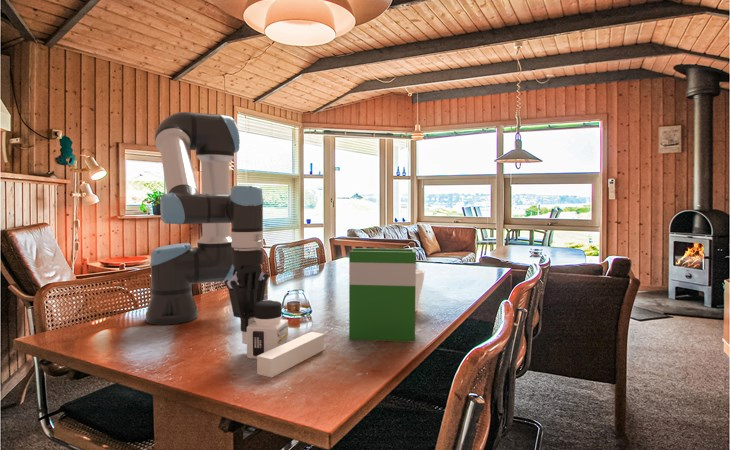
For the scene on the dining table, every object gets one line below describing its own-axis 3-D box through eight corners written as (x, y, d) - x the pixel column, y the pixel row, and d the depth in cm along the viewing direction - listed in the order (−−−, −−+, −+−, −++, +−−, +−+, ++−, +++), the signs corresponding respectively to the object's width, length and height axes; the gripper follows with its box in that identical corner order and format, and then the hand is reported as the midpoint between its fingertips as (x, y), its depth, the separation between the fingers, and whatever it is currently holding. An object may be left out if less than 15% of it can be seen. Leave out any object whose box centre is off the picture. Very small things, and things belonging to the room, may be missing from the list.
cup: (423, 307, 157) (423, 269, 156) (424, 314, 146) (424, 274, 145) (393, 306, 158) (393, 268, 157) (392, 313, 147) (392, 273, 146)
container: (277, 360, 104) (276, 305, 104) (246, 358, 106) (245, 304, 105) (288, 349, 112) (288, 298, 111) (259, 347, 113) (259, 297, 113)
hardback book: (349, 339, 120) (349, 251, 119) (352, 331, 128) (352, 248, 126) (414, 341, 119) (415, 252, 117) (414, 333, 126) (415, 249, 125)
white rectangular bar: (257, 374, 96) (257, 355, 96) (311, 347, 114) (311, 331, 114) (271, 377, 95) (271, 359, 94) (324, 349, 112) (324, 334, 112)
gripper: (239, 252, 102) (240, 353, 103) (276, 247, 113) (277, 338, 114) (215, 250, 105) (217, 348, 107) (254, 245, 117) (255, 334, 118)
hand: (248, 343), depth 111 cm, fingers closed
